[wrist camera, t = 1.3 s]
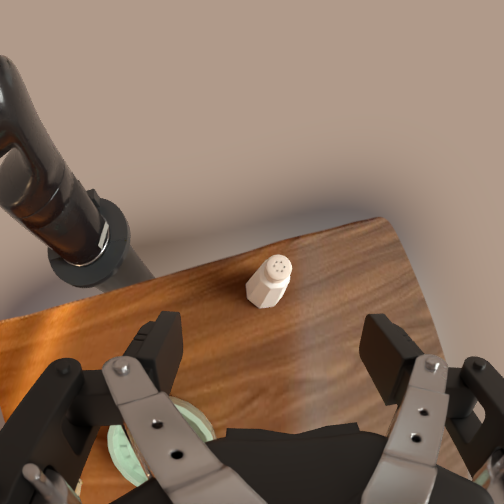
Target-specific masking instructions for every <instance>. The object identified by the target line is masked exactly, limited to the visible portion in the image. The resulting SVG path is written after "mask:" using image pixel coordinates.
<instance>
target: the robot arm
mask: <svg viewBox="0 0 504 504" xmlns="http://www.w3.org/2000/svg"><path fill="white" fill-rule="evenodd" d="M8 151H10V152H9V153H8V155H7V156H6V158H5V159H4V161H3V162H2V164H1V166H0V207H1V208H2V209H3V210H4V211H5V212H7V213H8V214H9V215H10V216H11V217H12V218H13V219H15V220H16V221H17V222H18V223H19V224H20V225H22V226H23V227H24V228H25V229H27V230H28V231H29V232H30V233H31V234H33V235H34V236H35V237H36V238H38V239H39V240H40V241H41V242H43V243H44V244H45V245H46V246H48V247H49V248H50V249H52V250H53V251H54V252H55V253H57V254H58V255H59V256H61V257H62V258H63V259H64V260H65V261H66V262H68V263H69V264H71V265H72V266H75V267H87V266H90V265H92V264H94V263H95V262H97V261H98V260H99V259H100V258H101V257H102V256H103V255H104V253H105V252H106V250H107V248H108V246H109V242H110V236H111V233H110V227H109V224H108V222H107V221H106V219H105V218H104V217H103V216H102V215H101V214H100V210H99V209H98V207H100V197H99V196H98V195H97V193H96V191H95V190H94V189H91V190H88V191H86V190H85V189H84V187H83V186H82V185H81V183H80V181H79V180H77V179H76V177H75V176H74V174H73V173H72V172H71V170H70V169H69V167H68V165H67V164H66V162H65V161H64V159H63V158H62V156H61V154H60V153H59V151H58V150H57V148H56V146H55V145H54V143H53V141H52V140H51V138H50V136H49V134H48V133H47V131H46V129H45V127H44V126H43V124H42V122H41V120H40V118H39V116H38V114H37V112H36V110H35V108H34V105H33V103H32V101H31V98H30V96H29V94H28V91H27V89H26V86H25V84H24V82H23V80H22V78H21V75H20V73H19V71H18V70H17V68H16V66H15V65H14V64H13V62H12V61H11V60H10V59H9V58H8V57H6V56H3V55H0V158H1V157H2V156H3V155H5V154H6V153H7V152H8ZM359 354H360V358H361V360H362V362H363V363H364V365H365V367H366V369H367V371H368V373H369V374H370V376H371V378H372V380H373V382H374V384H375V386H376V388H377V389H378V391H379V393H380V395H381V397H382V399H383V401H384V403H385V405H386V406H387V405H393V404H397V405H398V407H397V409H396V412H395V414H394V417H393V419H392V421H391V424H390V426H389V429H388V431H387V433H386V435H385V436H382V435H379V434H376V433H372V432H366V431H360V430H359V427H358V425H357V422H356V423H348V424H340V425H331V426H325V427H321V428H318V429H314V430H311V431H307V432H303V433H300V434H287V433H281V432H274V431H268V430H263V429H235V428H227V431H226V437H224V438H218V439H214V440H210V441H207V442H205V443H204V442H203V441H202V440H201V438H200V437H199V436H198V435H197V433H196V432H195V431H194V430H193V428H192V427H191V426H190V425H189V423H188V422H187V421H186V419H185V418H184V417H183V416H182V414H181V413H180V412H179V410H178V409H177V407H176V406H175V405H174V403H173V402H172V401H171V399H170V398H169V394H170V391H171V388H172V385H173V382H174V379H175V376H176V373H177V371H178V368H179V365H180V362H181V359H182V355H183V338H182V327H181V316H180V313H179V312H169V311H162V312H161V313H160V315H159V316H158V318H157V320H156V321H155V322H153V321H149V322H148V323H146V324H145V325H143V326H142V327H141V328H140V330H139V331H138V333H137V335H136V336H135V337H134V340H132V342H131V343H130V345H129V346H128V348H127V350H126V351H125V353H124V354H123V356H119V357H114V358H112V359H110V360H108V361H107V362H105V364H104V365H103V367H102V370H82V368H81V364H80V363H79V362H78V361H77V360H75V359H72V358H62V359H58V360H55V361H54V362H52V363H51V364H50V365H49V366H48V367H47V368H46V369H45V371H44V372H43V373H42V374H41V376H40V377H39V378H38V380H37V381H36V382H35V384H34V385H33V386H32V387H31V389H30V390H29V391H28V393H27V394H26V395H25V397H24V398H23V400H22V401H21V402H20V404H19V405H18V406H17V408H16V409H15V411H14V412H13V413H12V415H11V416H10V418H9V419H8V421H7V422H6V423H5V425H4V427H3V428H2V429H1V431H0V504H82V502H81V500H80V498H79V496H78V495H77V494H76V493H75V489H76V487H77V484H78V481H79V479H80V476H81V473H82V471H83V468H84V466H85V463H86V460H87V458H88V455H89V453H90V450H91V448H92V445H93V443H94V441H95V438H96V436H97V433H98V431H99V429H100V426H111V425H121V427H122V429H123V431H124V433H125V435H126V437H127V439H128V441H129V443H130V445H131V447H132V449H133V451H134V453H135V455H136V457H137V459H138V461H139V463H140V465H141V467H142V469H143V471H144V472H145V474H146V476H147V478H148V480H147V481H145V482H144V483H142V484H141V485H139V486H138V487H136V488H134V489H133V490H131V491H130V492H128V493H126V494H125V495H123V496H121V497H120V498H118V499H116V500H115V501H113V502H111V503H109V504H504V378H503V377H502V376H501V375H500V374H499V373H498V372H497V370H495V368H494V367H493V366H492V365H491V364H490V363H489V362H488V361H486V360H485V359H483V358H480V357H468V358H467V359H466V360H465V362H464V364H463V367H462V368H450V367H448V365H447V363H446V362H445V361H444V360H443V359H442V358H440V357H438V356H435V355H431V354H424V353H423V352H422V351H421V349H420V348H419V347H418V346H417V345H416V344H415V342H414V341H412V339H411V338H410V337H409V336H408V334H407V333H406V332H405V331H404V330H403V329H402V328H401V327H399V326H397V325H396V324H394V323H393V324H392V322H391V321H390V320H389V319H388V318H387V317H386V315H385V314H368V315H367V316H366V318H365V322H364V327H363V331H362V336H361V340H360V345H359ZM477 401H479V403H480V404H481V405H482V407H483V408H484V410H485V420H484V422H483V423H481V422H480V420H479V419H478V417H477V416H476V414H475V413H474V411H473V408H474V406H475V405H476V403H477ZM444 426H445V427H446V429H447V431H448V433H449V434H450V436H451V438H452V440H453V442H454V444H455V445H456V447H457V449H458V451H459V453H460V455H461V457H462V459H463V461H464V463H465V465H466V467H467V469H468V471H469V473H470V475H471V477H472V479H473V480H472V481H470V480H468V479H466V478H464V477H462V476H459V475H457V474H455V473H453V472H451V471H449V470H447V469H445V468H443V467H441V466H439V465H437V464H436V462H437V458H438V454H439V450H440V445H441V441H442V436H443V431H444Z"/></svg>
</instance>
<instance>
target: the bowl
mask: <svg viewBox="0 0 504 504" xmlns="http://www.w3.org/2000/svg"><path fill="white" fill-rule="evenodd" d="M169 398H170V399H171V401H172V402H173V403H174V405H175V406H176V407H177V409H178V410H179V412H180V413H181V414H182V416H183V417H184V418H185V419H186V421H187V422H188V423H189V425H190V426H191V427H192V428H193V430H194V431H195V432H196V433H197V435H198V436H199V437H200V438H201V440H202V441H203V442H204V443H205V442H207V441H210V440H214V439H217V438H216V435H215V432H214V429H213V427H212V425H211V423H210V422H209V421H208V419H207V418H206V417H205V415H204V414H203V413H202V412H201V411H200V410H198V409H197V408H195V407H194V406H193V405H191V404H190V403H189V402H186V401H184V400H181V399H178V398H176V397H173V396H169ZM107 438H108V449H109V453H110V455H111V458H112V460H113V463H114V465H115V466H116V467H117V468H118V470H119V471H120V472H121V474H122V475H123V476H124V477H125V478H126V479H127V480H129V481H130V482H131V483H133V484H134V485H135V486H137V487H138V486H139V485H141V484H142V483H144V482H145V481H147V480H148V478H147V476H146V474H145V472H144V471H143V469H142V467H141V465H140V463H139V461H138V459H137V457H136V455H135V453H134V451H133V449H132V447H131V445H130V443H129V441H128V439H127V437H126V435H125V433H124V431H123V429H122V427H121V425H111V426H110V427H109V431H108V435H107Z"/></svg>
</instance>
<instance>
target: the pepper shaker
mask: <svg viewBox="0 0 504 504" xmlns="http://www.w3.org/2000/svg"><path fill="white" fill-rule="evenodd" d="M291 271H292V266H291V263H290V261H289V260H288V258H286V257H285V256H283V255H273V256H271V257H270V258H269V259H268V260H266V261H265V262H264V263H263V264H262V265H261V266H260V267H259V269H258V270H257V271H256V272H255V273H254V275H253V276H252V277H251V278H250V279H249V281H248V282H247V283H246V284H245V285H246V292H247V299H248V300H249V301H251V302H252V303H253V304H254V305H256V306H257V307H258V308H267V307H274V306H275V305H276V304H277V302H278V301H279V300H280V298H281V297H282V296H283V294H284V292H285V290H286V287H287V285H288V283H289V281H290V274H291Z"/></svg>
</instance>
